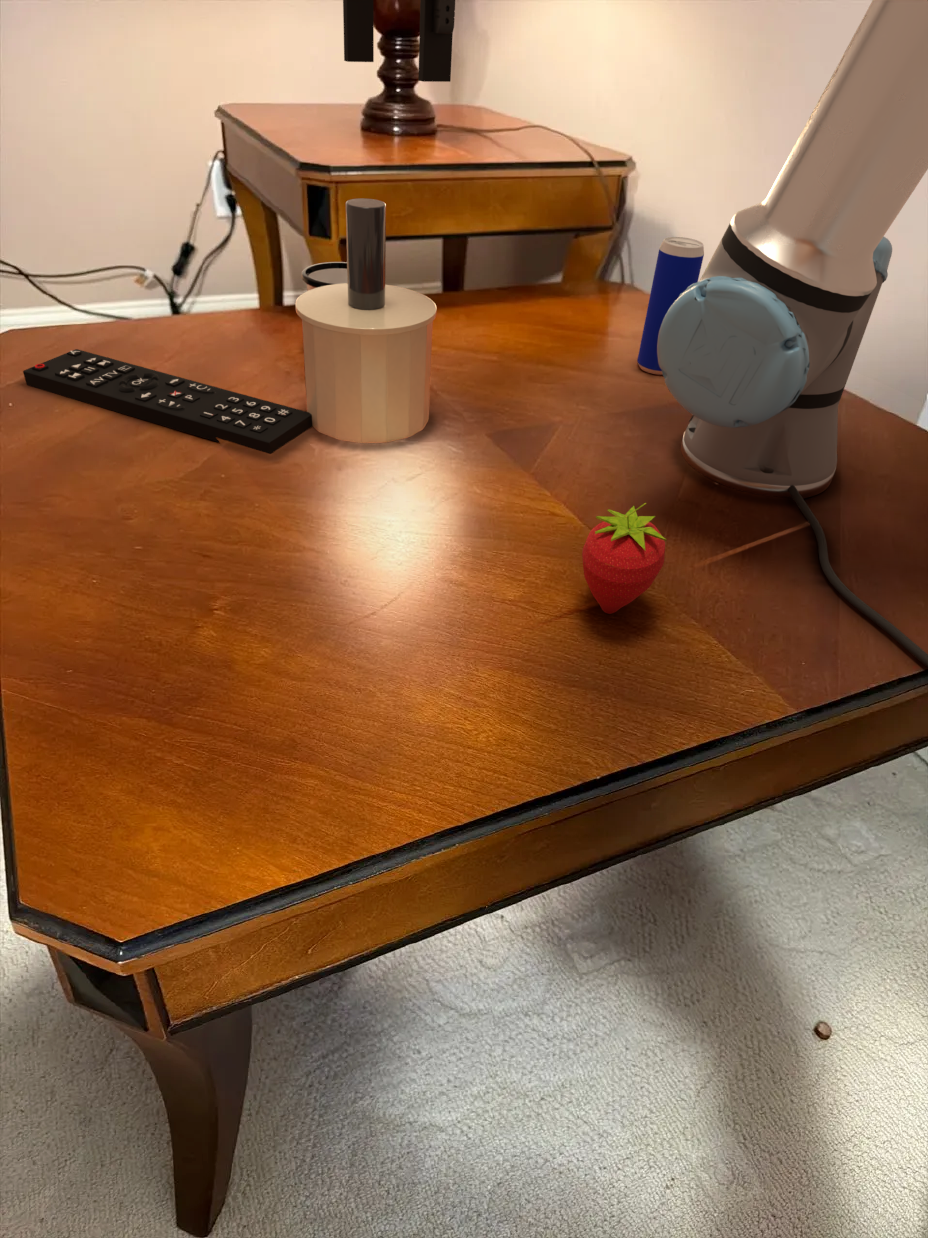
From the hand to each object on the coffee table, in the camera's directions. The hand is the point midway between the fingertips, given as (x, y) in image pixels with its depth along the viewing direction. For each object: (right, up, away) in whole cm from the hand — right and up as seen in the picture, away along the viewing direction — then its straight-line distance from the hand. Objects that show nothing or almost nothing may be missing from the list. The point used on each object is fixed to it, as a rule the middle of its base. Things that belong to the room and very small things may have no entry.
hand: (394, 71), depth 74 cm
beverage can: (+31, -17, +31) cm, 47 cm away
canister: (-4, -28, +14) cm, 31 cm away
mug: (-8, -15, +31) cm, 35 cm away
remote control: (-25, -26, +14) cm, 39 cm away
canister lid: (-3, -19, +7) cm, 20 cm away
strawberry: (+18, -48, -10) cm, 52 cm away
